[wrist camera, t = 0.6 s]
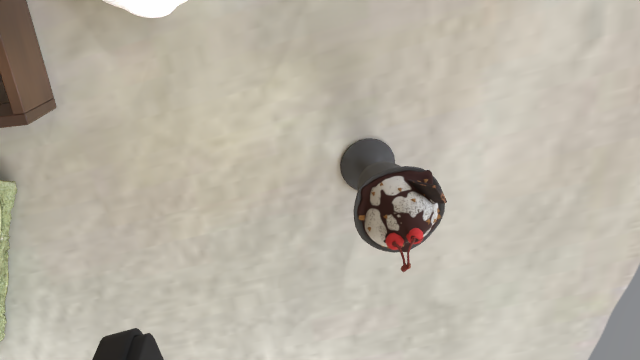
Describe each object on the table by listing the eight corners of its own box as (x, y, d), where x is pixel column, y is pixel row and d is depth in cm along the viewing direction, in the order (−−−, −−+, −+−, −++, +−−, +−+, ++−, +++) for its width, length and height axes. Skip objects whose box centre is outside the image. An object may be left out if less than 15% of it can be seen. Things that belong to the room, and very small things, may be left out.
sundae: (336, 205, 45) (374, 298, 32) (327, 135, 43) (364, 203, 29) (405, 193, 46) (473, 280, 32) (400, 123, 44) (472, 184, 30)
